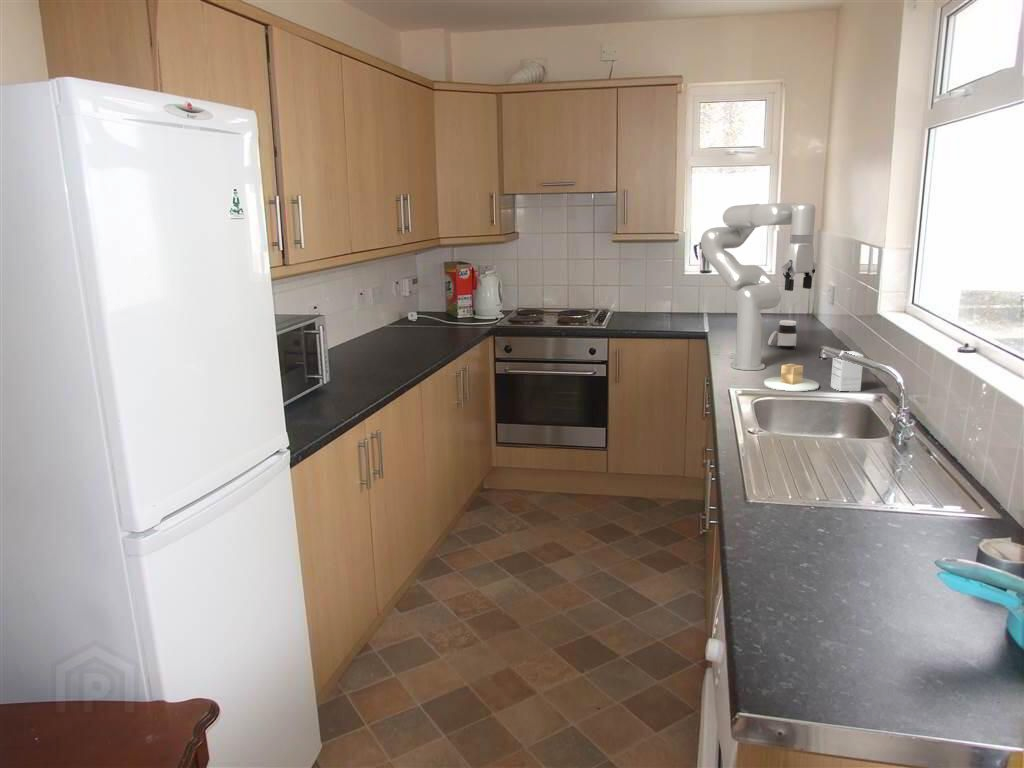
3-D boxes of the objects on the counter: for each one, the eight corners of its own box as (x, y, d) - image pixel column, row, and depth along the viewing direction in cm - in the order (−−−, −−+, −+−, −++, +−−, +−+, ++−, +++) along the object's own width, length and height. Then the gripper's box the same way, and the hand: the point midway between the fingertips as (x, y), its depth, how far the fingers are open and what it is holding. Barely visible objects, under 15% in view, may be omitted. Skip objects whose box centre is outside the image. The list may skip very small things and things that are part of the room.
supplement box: (850, 386, 265) (854, 350, 262) (860, 391, 258) (864, 354, 255) (829, 386, 265) (832, 351, 262) (839, 392, 258) (842, 355, 255)
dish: (752, 384, 270) (753, 381, 269) (786, 377, 279) (787, 374, 279) (795, 394, 255) (795, 391, 254) (829, 387, 264) (830, 384, 264)
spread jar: (797, 350, 327) (799, 323, 324) (769, 349, 329) (771, 322, 327) (792, 345, 339) (794, 318, 336) (766, 344, 341) (767, 318, 338)
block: (780, 382, 267) (781, 365, 266) (789, 380, 270) (791, 363, 268) (792, 384, 263) (793, 367, 262) (801, 382, 266) (803, 366, 264)
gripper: (808, 238, 273) (804, 286, 277) (776, 240, 264) (772, 290, 268) (826, 239, 267) (822, 288, 271) (794, 241, 258) (790, 292, 262)
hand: (798, 289), depth 269 cm, fingers open, 9 cm apart
